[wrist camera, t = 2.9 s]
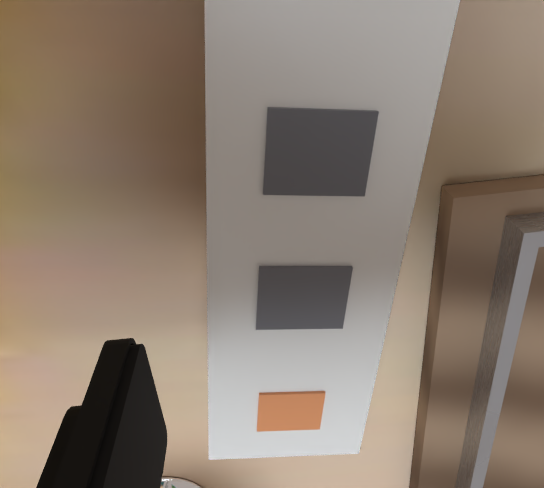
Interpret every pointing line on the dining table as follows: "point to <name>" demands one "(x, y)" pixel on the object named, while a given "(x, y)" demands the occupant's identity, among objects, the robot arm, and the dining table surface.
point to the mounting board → (484, 341)
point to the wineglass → (177, 483)
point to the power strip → (309, 208)
